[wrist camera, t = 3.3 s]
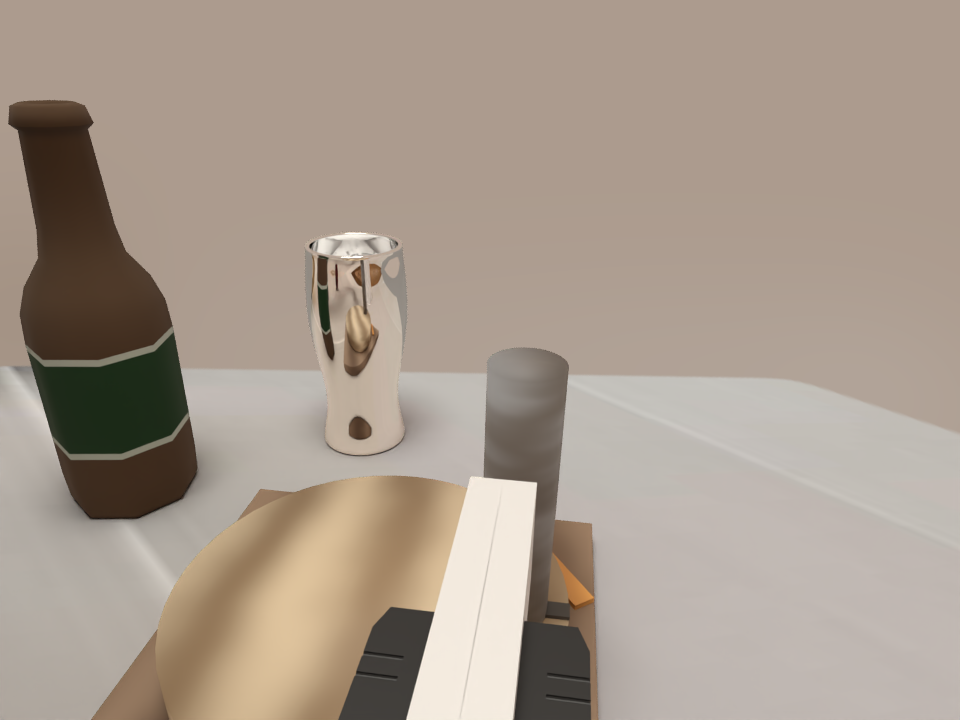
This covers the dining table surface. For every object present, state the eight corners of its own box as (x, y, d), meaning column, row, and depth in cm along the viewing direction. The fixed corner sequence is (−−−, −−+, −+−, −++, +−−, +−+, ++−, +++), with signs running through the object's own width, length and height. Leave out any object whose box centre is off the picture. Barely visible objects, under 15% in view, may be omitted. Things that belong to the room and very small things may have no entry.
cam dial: (68, 801, 24) (-63, 458, 18) (272, 503, 40) (241, 267, 34) (559, 882, 22) (606, 528, 16) (566, 534, 38) (591, 290, 32)
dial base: (10, 862, 24) (-2, 837, 23) (262, 504, 42) (259, 485, 42) (601, 967, 21) (606, 942, 21) (589, 539, 40) (592, 519, 40)
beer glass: (386, 404, 55) (379, 226, 49) (426, 442, 50) (424, 249, 43) (306, 426, 52) (286, 237, 45) (339, 469, 46) (323, 263, 40)
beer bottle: (75, 468, 46) (-29, 97, 35) (195, 445, 49) (131, 97, 39) (65, 537, 39) (-66, 108, 29) (204, 505, 42) (130, 107, 32)
